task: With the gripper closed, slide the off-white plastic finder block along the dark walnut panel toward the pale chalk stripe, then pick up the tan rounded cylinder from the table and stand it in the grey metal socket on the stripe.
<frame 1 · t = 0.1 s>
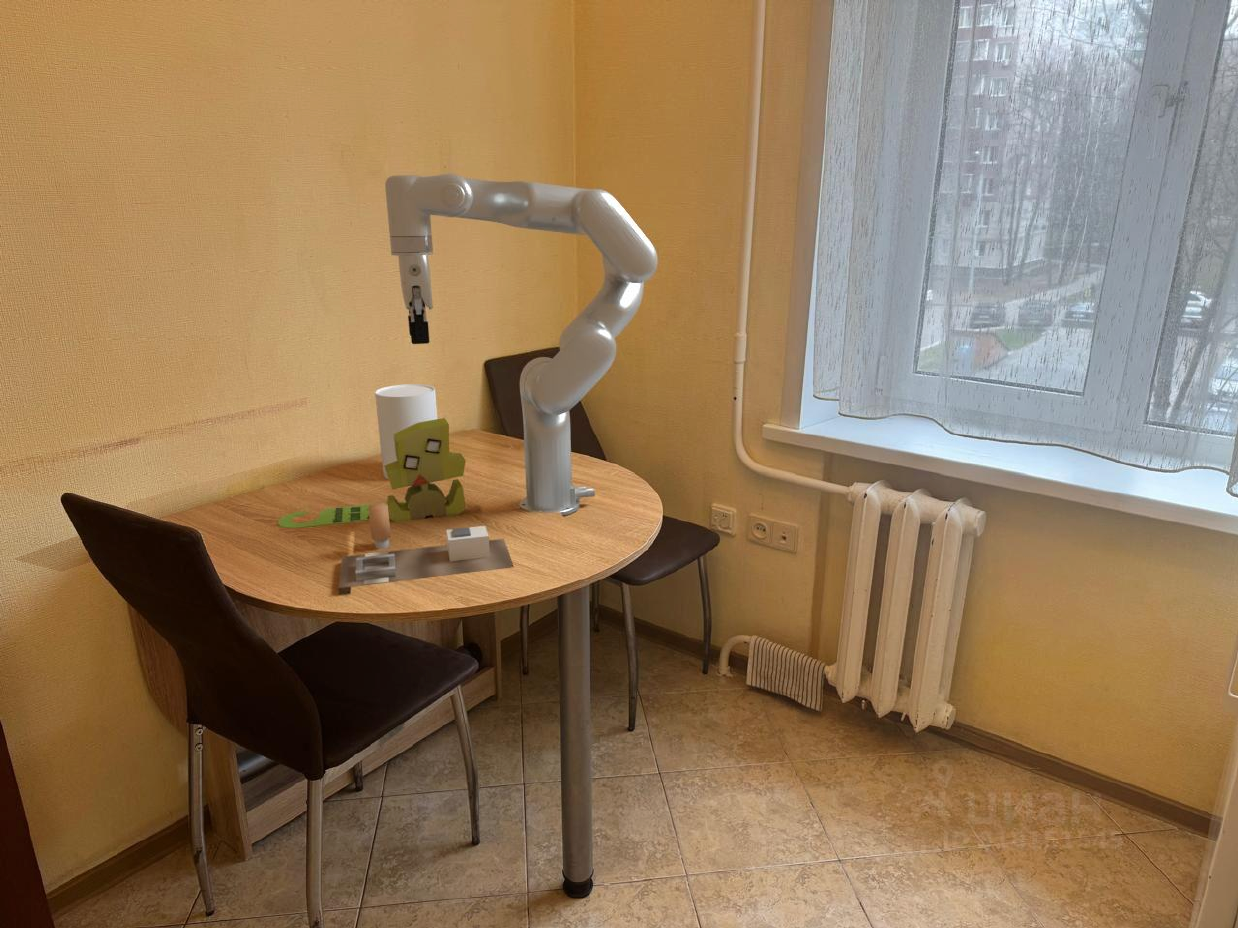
hand: (419, 339, 157), 37 cm above the table, tool pointing down, fingers open, 9 cm apart
toy: (428, 519, 169), on the table
door hanger: (342, 517, 171), on the table
tan rounded cylinder: (382, 552, 153), on the table
panel: (426, 567, 146), on the table
finder block: (468, 553, 149), point 1 cm above the table, touching panel
canister: (412, 472, 198), on the table
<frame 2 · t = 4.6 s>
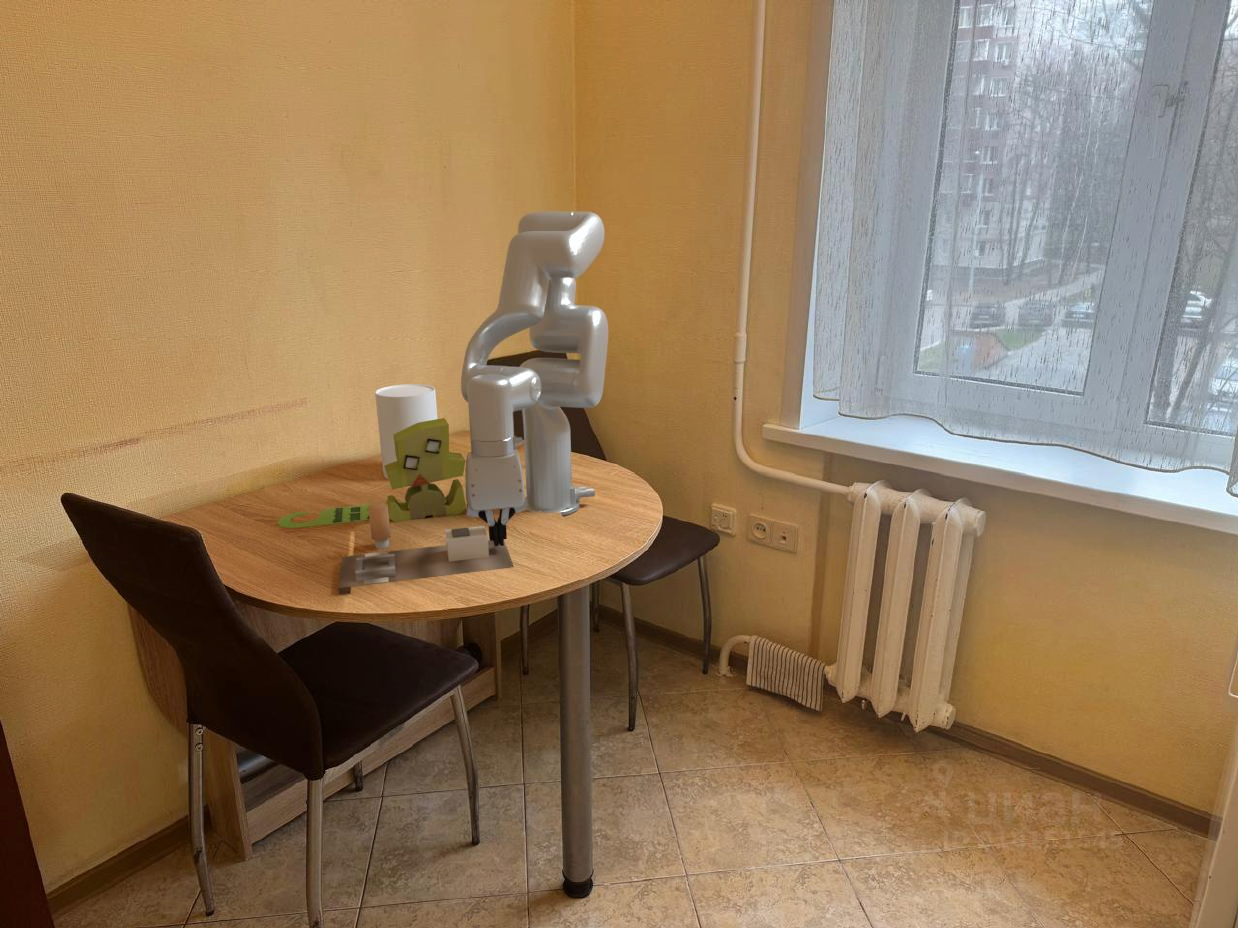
hand: (498, 543, 150), 3 cm above the table, tool pointing down, fingers closed
finder block: (467, 553, 149), point 1 cm above the table, touching gripper, panel
everything else where it was.
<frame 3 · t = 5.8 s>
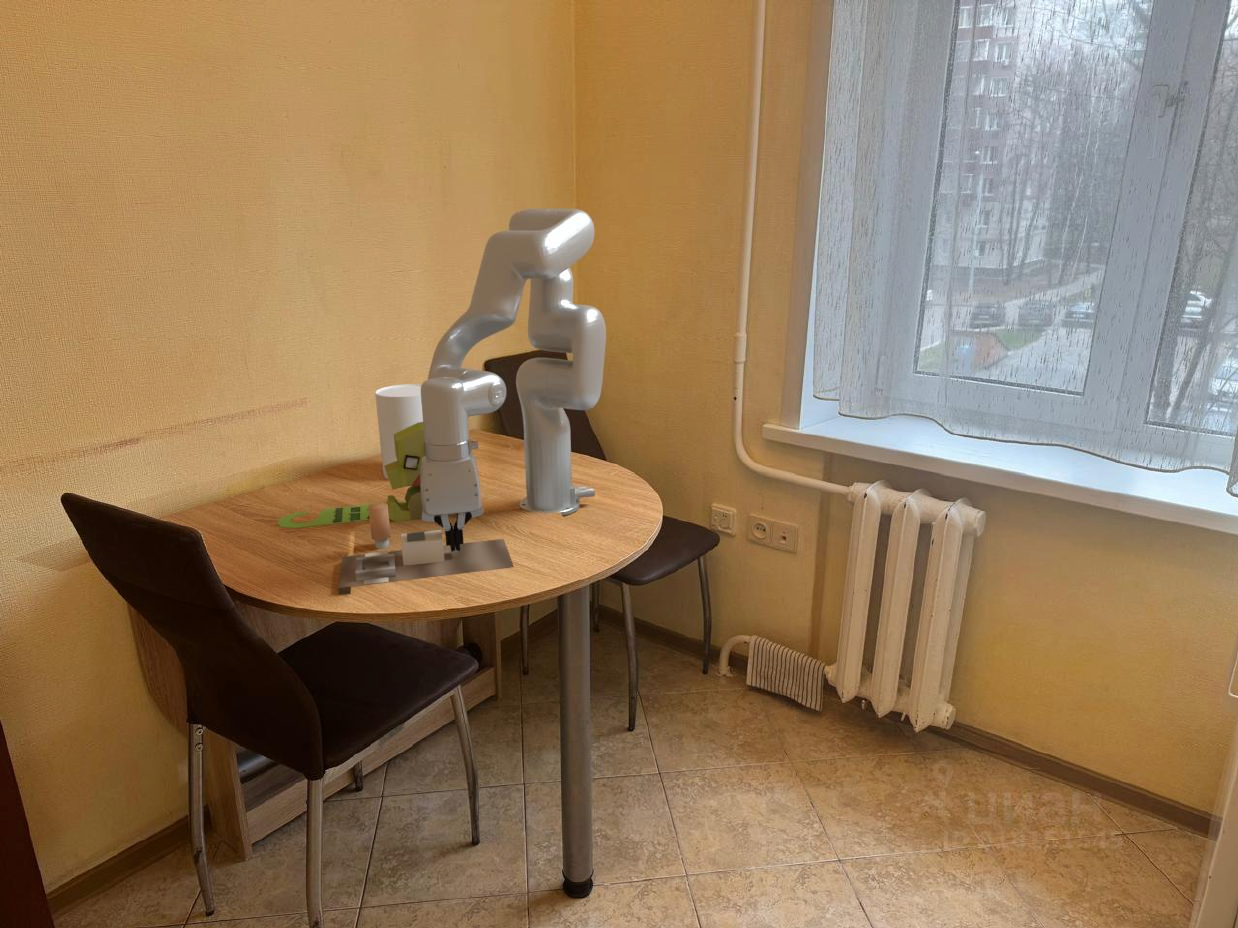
hand: (455, 547, 148), 3 cm above the table, tool pointing down, fingers closed
finder block: (423, 557, 147), point 1 cm above the table, touching gripper
everything else where it was.
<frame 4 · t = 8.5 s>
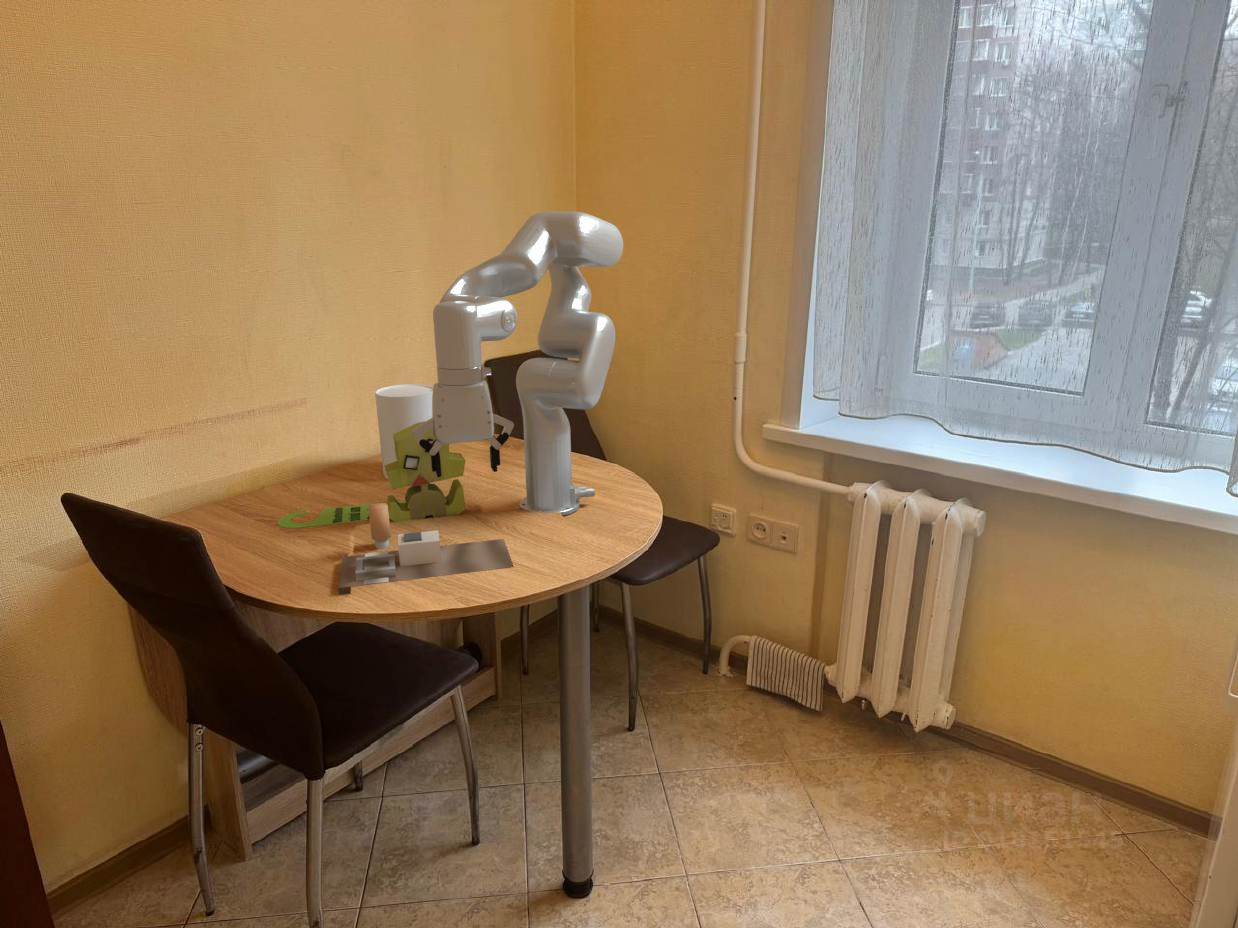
hand: (466, 472, 145), 16 cm above the table, tool pointing down, fingers open, 9 cm apart
finder block: (420, 558, 147), point 1 cm above the table, touching panel
everything else where it was.
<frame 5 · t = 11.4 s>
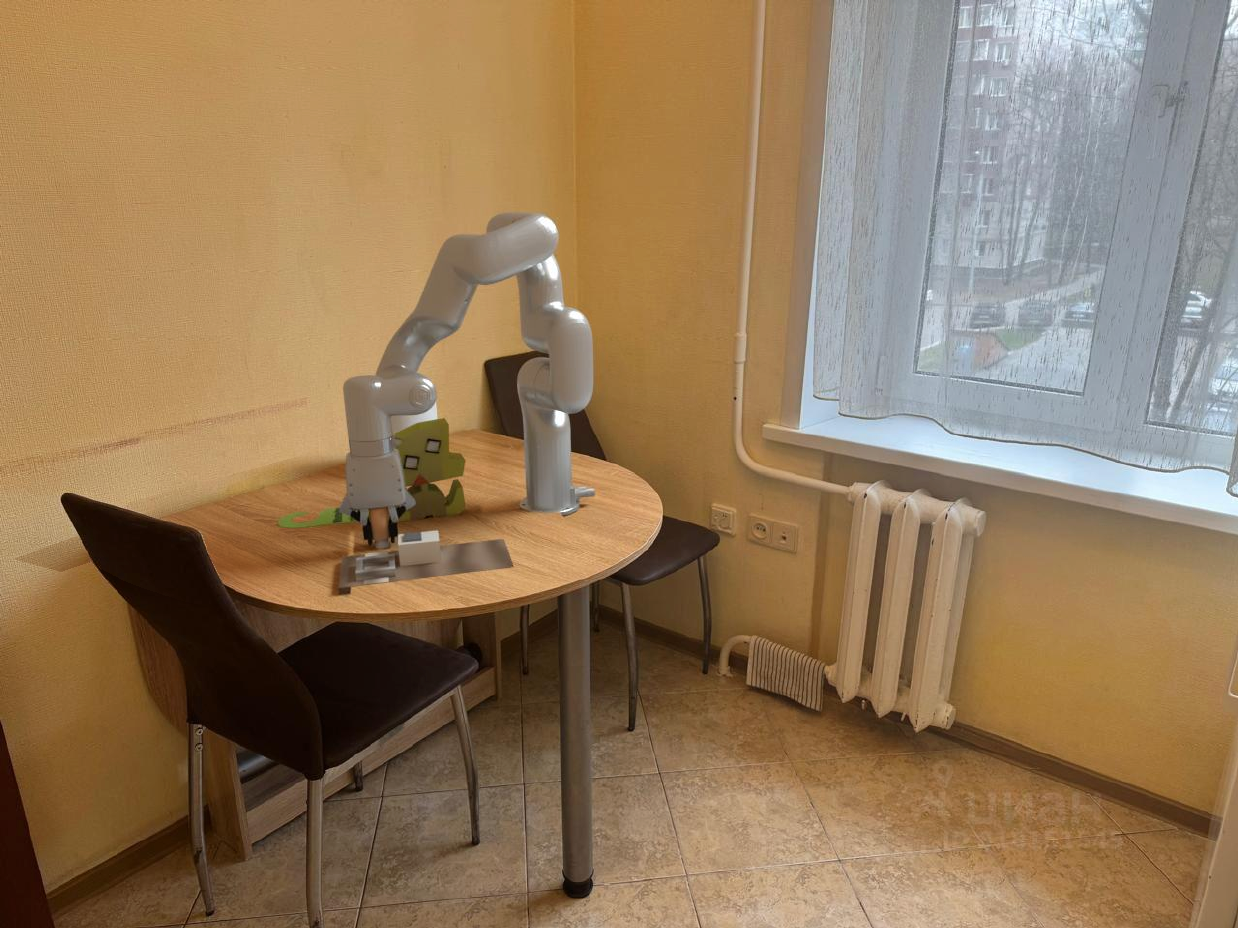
hand: (381, 540, 152), 2 cm above the table, tool pointing down, fingers closed on tan rounded cylinder, 3 cm apart
tan rounded cylinder: (382, 552, 153), on the table, touching gripper
everything else where it was.
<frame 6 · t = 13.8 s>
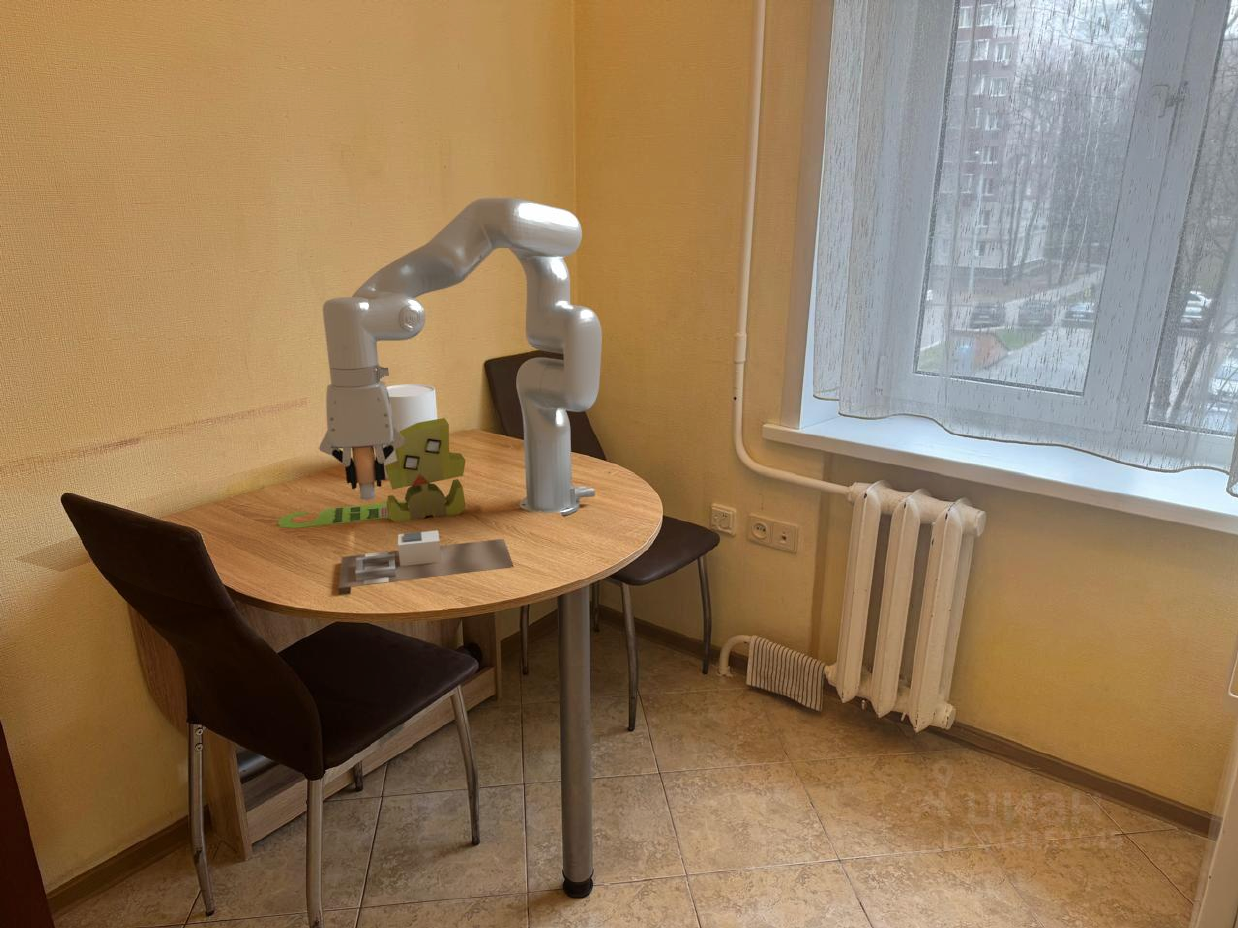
hand: (366, 484, 137), 17 cm above the table, tool pointing down, fingers closed on tan rounded cylinder, 3 cm apart
tan rounded cylinder: (368, 497, 138), point 15 cm above the table, touching gripper
everything else where it was.
when the fingers open (4 cm above the table, at t = 16.3 s): tan rounded cylinder stays where it is, resting on panel.
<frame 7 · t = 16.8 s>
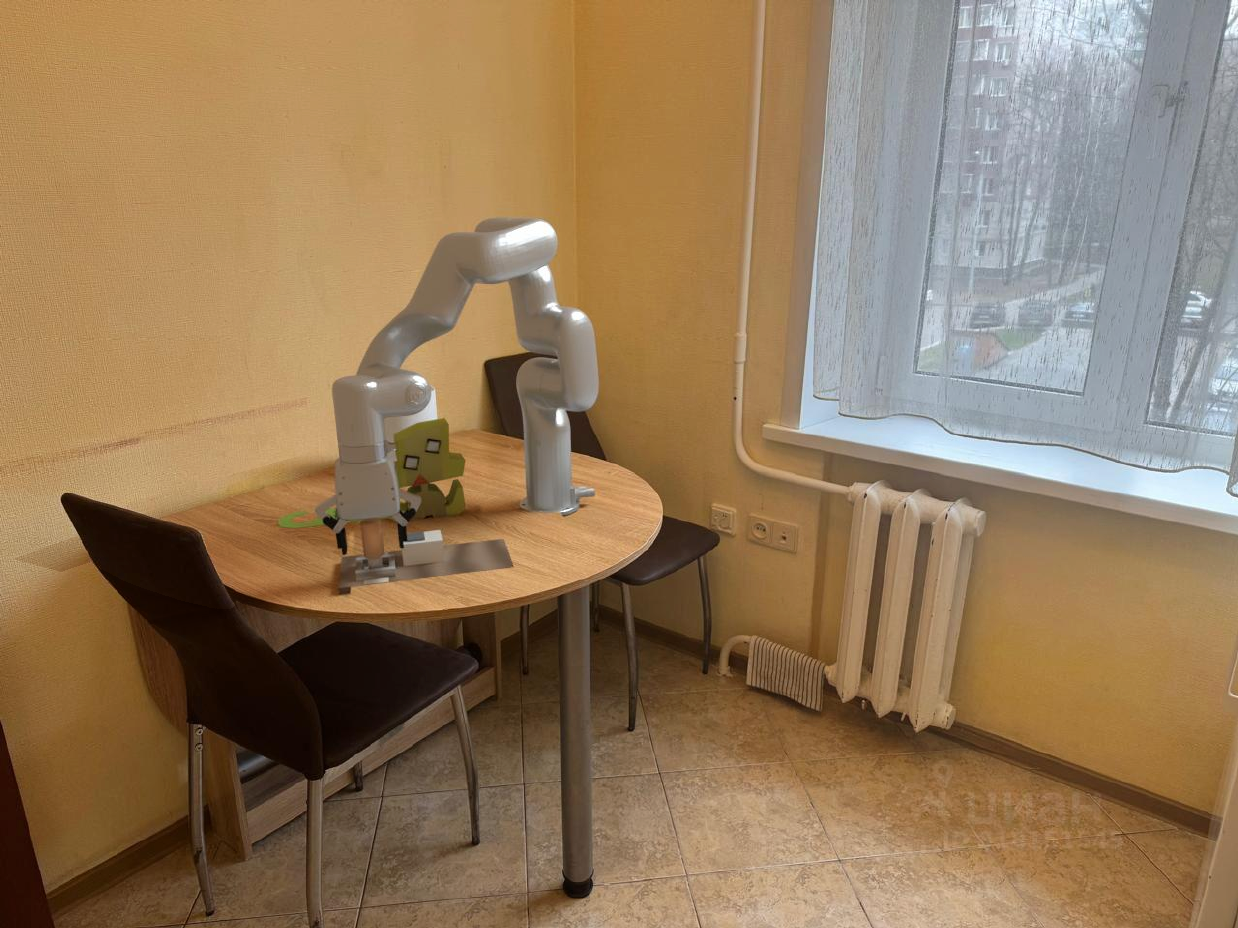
hand: (373, 548, 141), 5 cm above the table, tool pointing down, fingers open, 9 cm apart
tan rounded cylinder: (376, 570, 142), point 1 cm above the table, touching panel
everything else where it was.
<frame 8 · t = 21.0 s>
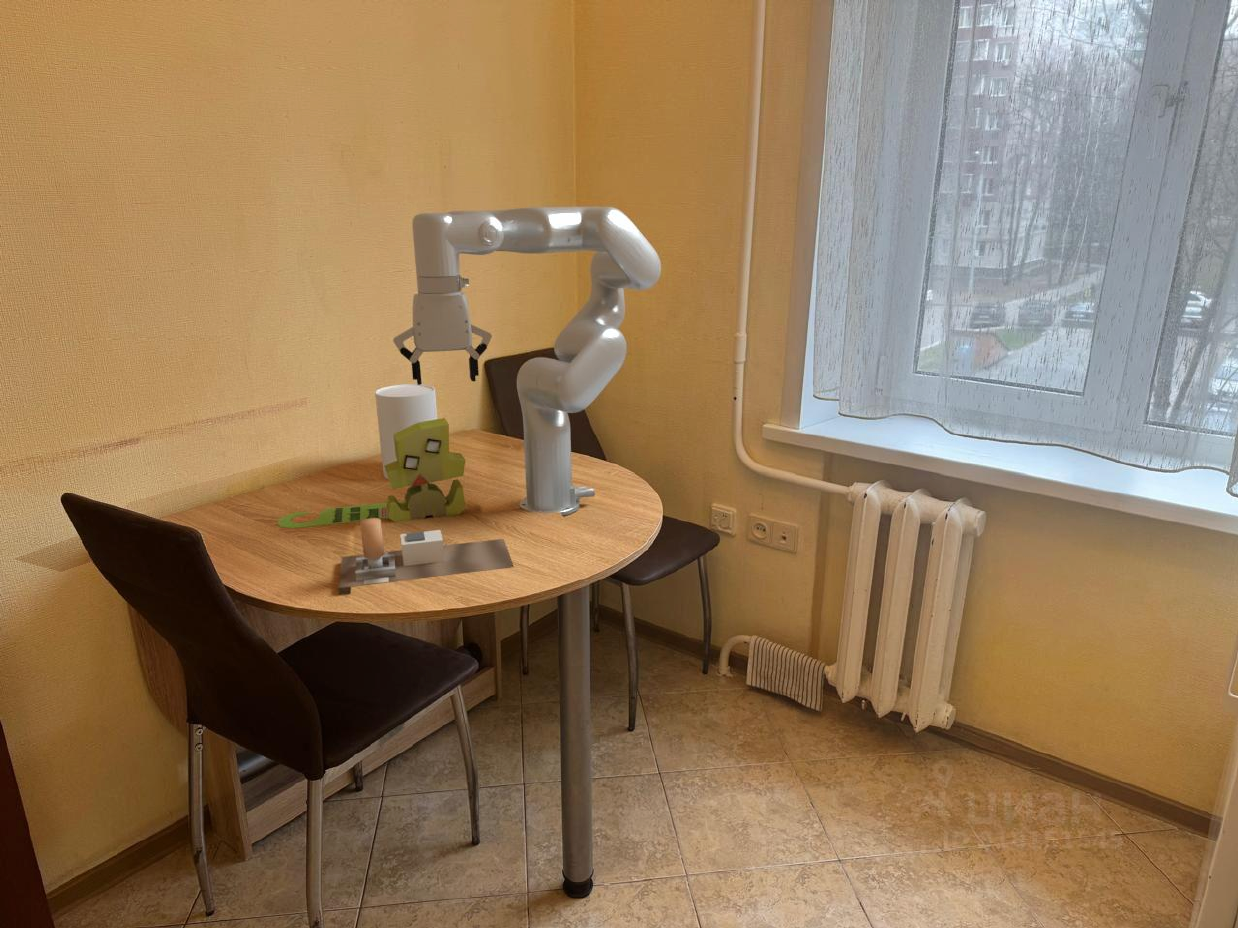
hand: (446, 381, 151), 30 cm above the table, tool pointing down, fingers open, 9 cm apart
nothing on the table moved.
at the end: finder block inside the target area (0.7 cm from its centre), point 1.2 cm above the table; tan rounded cylinder 0.0 cm from the target spot, point 1.3 cm above the table; tan rounded cylinder tilted 1° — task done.
